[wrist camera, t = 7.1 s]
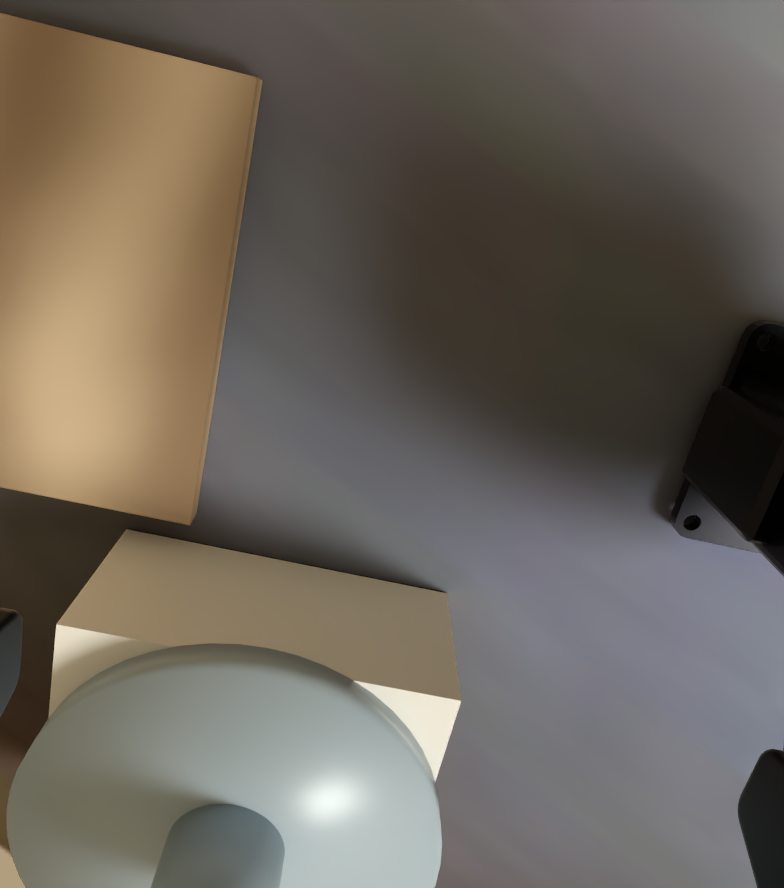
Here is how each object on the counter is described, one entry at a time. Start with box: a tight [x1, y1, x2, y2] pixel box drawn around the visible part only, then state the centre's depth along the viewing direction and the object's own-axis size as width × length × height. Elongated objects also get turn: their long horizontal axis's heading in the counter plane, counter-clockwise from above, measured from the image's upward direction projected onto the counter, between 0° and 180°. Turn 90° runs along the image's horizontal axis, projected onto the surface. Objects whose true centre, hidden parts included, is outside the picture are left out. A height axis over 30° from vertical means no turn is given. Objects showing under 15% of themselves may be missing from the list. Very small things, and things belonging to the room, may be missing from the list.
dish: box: [48, 529, 461, 781], centre depth 22 cm, size 10×10×5 cm
